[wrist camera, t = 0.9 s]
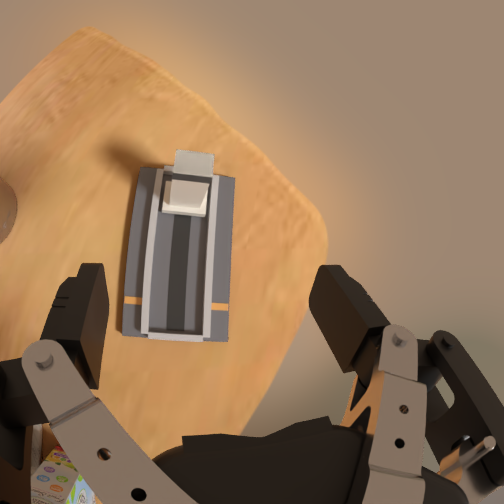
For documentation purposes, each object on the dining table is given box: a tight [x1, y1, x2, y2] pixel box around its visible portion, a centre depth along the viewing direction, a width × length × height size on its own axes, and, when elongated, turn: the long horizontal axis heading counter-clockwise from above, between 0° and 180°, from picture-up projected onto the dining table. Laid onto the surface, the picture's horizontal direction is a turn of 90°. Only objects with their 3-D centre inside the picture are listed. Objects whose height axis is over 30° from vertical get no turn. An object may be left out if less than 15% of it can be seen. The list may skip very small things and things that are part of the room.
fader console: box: [122, 165, 235, 342], centre depth 34 cm, size 12×20×2 cm, turn 178°
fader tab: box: [162, 149, 214, 217], centre depth 30 cm, size 5×4×10 cm
